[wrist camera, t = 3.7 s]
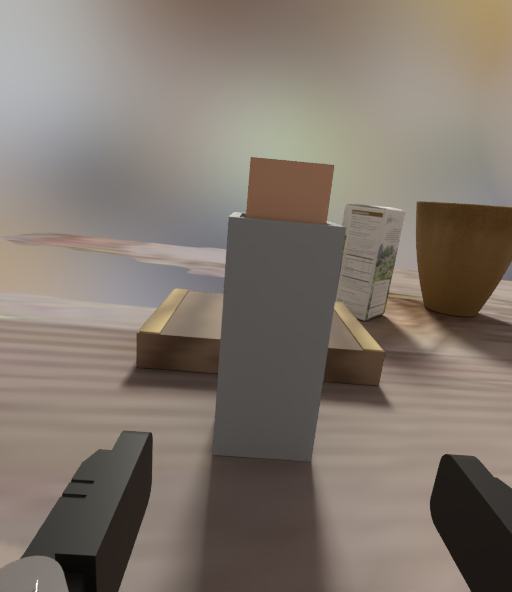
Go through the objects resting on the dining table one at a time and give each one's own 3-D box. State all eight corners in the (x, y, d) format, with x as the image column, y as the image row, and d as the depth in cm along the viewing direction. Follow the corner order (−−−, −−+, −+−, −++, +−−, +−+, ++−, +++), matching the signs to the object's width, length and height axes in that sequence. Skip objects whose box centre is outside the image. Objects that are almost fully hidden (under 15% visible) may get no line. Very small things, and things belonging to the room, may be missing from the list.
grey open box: (212, 454, 21) (228, 216, 17) (220, 401, 26) (234, 212, 23) (311, 461, 21) (345, 227, 18) (299, 407, 26) (324, 219, 23)
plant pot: (427, 293, 68) (447, 203, 63) (520, 318, 56) (551, 211, 52) (378, 301, 59) (397, 197, 55) (476, 332, 47) (509, 204, 43)
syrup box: (348, 304, 55) (364, 204, 51) (386, 315, 51) (406, 208, 47) (327, 310, 51) (343, 202, 47) (366, 322, 47) (387, 206, 43)
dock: (136, 367, 30) (136, 330, 29) (172, 314, 44) (173, 288, 43) (378, 385, 31) (385, 350, 30) (340, 327, 44) (343, 302, 43)
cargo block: (244, 241, 19) (250, 156, 18) (245, 233, 22) (250, 164, 21) (323, 248, 19) (334, 165, 18) (310, 239, 23) (319, 170, 21)
